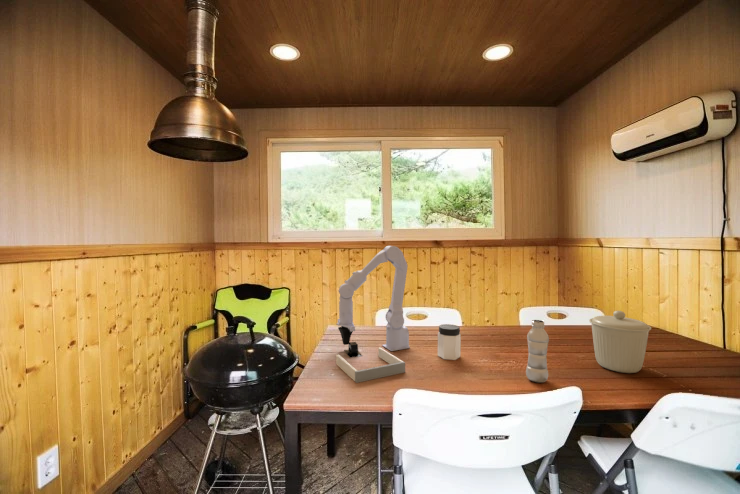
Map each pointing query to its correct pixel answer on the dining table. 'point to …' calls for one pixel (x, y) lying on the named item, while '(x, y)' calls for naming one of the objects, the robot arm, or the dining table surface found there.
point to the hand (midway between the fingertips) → (346, 344)
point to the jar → (449, 342)
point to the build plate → (353, 350)
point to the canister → (619, 342)
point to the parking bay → (376, 372)
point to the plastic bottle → (537, 352)
